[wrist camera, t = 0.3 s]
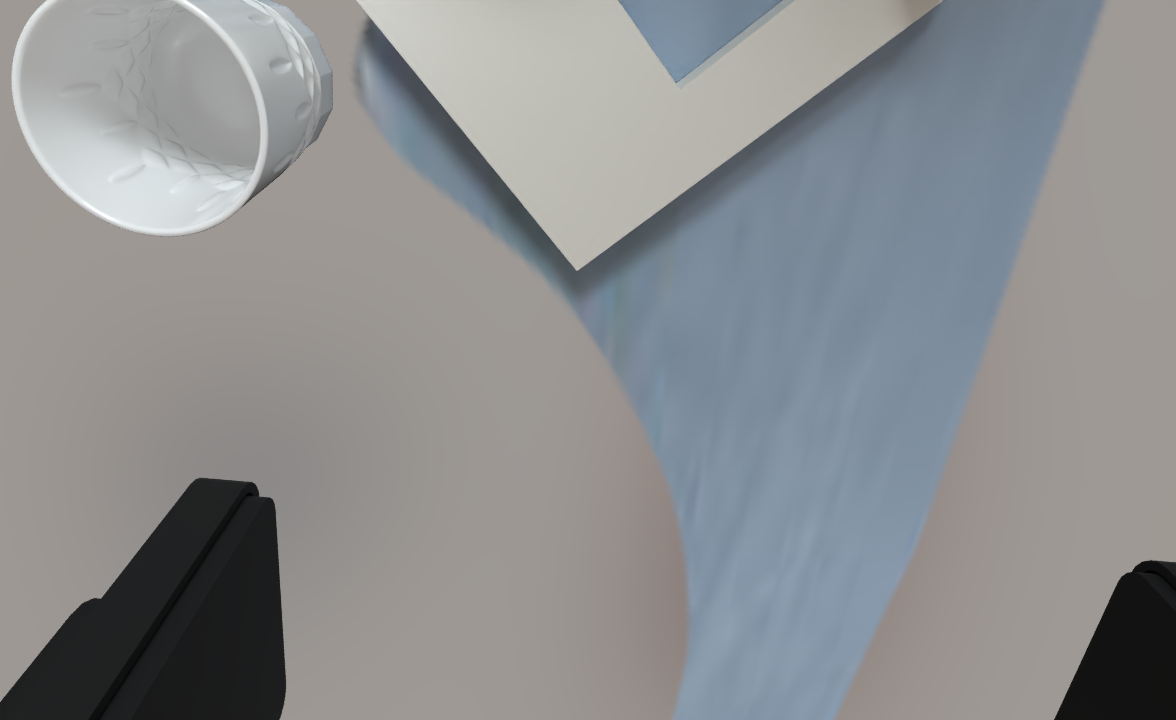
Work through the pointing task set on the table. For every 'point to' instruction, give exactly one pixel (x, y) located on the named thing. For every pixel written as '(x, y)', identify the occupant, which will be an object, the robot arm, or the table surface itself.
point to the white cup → (168, 105)
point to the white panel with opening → (619, 96)
